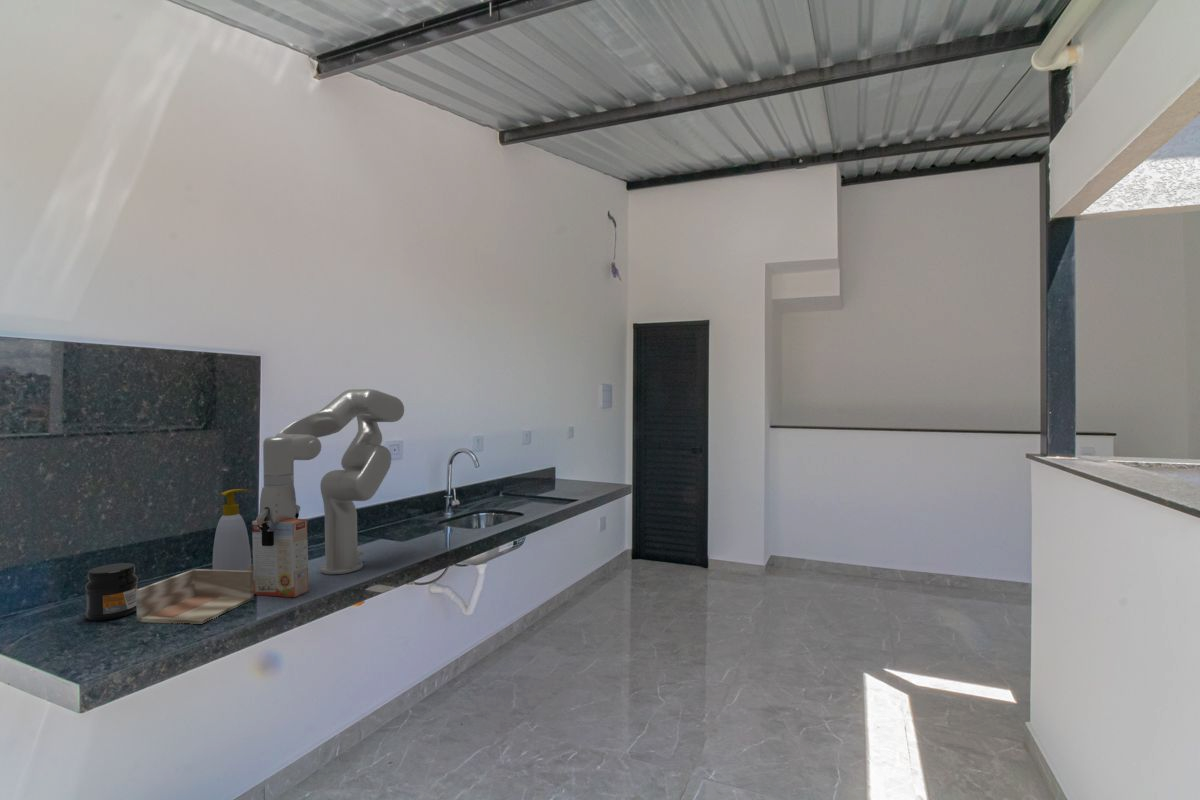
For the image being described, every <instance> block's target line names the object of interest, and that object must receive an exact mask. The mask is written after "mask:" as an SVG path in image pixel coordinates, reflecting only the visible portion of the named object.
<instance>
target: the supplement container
mask: <svg viewBox="0 0 1200 800" xmlns="http://www.w3.org/2000/svg"><path fill="white" fill-rule="evenodd" d="M135 573H136V566H135V564H133V563H127V562H123V563H122V562H121V563H113V564H107V565H102V566H97V567H94V568H92V569H89V571H88V572H87V580H88V582H87V583H86V584H85V594H86V595H85V597H86V599H85V600H86V613H85V614H86V615H85V616H86V617H87V619H88V620H90V621H96V622H104V621H110V620H111V621H112V620H115V619H120V618H124V617H126V616H129V615H132V614H133V613H134V612H137V604H136V590H137V589H138V581H139V577H138V576H137V575H136V574H135Z"/></svg>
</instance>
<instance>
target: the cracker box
mask: <svg viewBox="0 0 1200 800" xmlns="http://www.w3.org/2000/svg"><path fill="white" fill-rule="evenodd" d="M267 525H268V526H269V525H270V524H267ZM251 528H252V529H251V534H252V536H251V537H252V568H253V570H252V571H253V595H255V594H256V595H257V596H267V597H268V596H269V597H270V596H271V597H280V596H281V597H282V598H283V597H284V598H291V597H294V598H296V597H298V596H301V594H302V595H303V594H306V593H309V553H308V551H309V547H308V544H309V543H308V519H307V518H298V519H287V520H284V521H281V522H278V523H275V525H274V527H273V529H272V531H274V545H273V546H262V532H261V531H260V528H259V527H258V523H257V521H256V519H255V520H252V522H251Z"/></svg>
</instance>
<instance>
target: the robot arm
mask: <svg viewBox="0 0 1200 800" xmlns="http://www.w3.org/2000/svg"><path fill="white" fill-rule="evenodd" d="M404 414H405V406H404V403H403V402H402V400H401V399H400V398H398V397H397V396H394V395H391V394H389V393H385V392H382V391H379V390H376V389H371V388H368V389H367V388H365V389H364V388H362V389H357V388H356V389H353V388H352V389H348V390H344V391H343V392H341V393H340V394H339V395H338V396H337V397H336V398H334V399H333V400H332V401H330V402H329V403H328V404H327V405H325V406H324V407H323V408H322V409H320V410H319V411H317V412H315V413H312V414H309V415H307V416H305V417H302V418H301V419H298V420H296V421H294V422H292V423H290V424H288V425H287V426H285V427H284V428H283V429H281V430H280V431H279V432H278V433H277V434H276V435H275V436H269V437H266V438H265V439H264V440H263V445H262V447H263V449H262V450H263V451H262V453H263V461H262V462H263V463H262V464H263V487H262V488H261V493H260V498H259V510H258V511H259V512H258V513H259V514H258V515H257V517H255V520H256V521H257V523H258V527H259V528H260V531H261V532H262V546H273V545H274V531H272V529H273V527H274V525H275V523H278V522H281V521H284V520H287V519H299V516H300V512H301V511H300V510H301V506H300V505H298V504H297V501H296V500H297V499H296V497H297V496H296V491H295V479H294V478H295V477H294V473H295V472H294V470H295V469H294V466H295V465H294V461H310V460H314V459H315V458H316V457H318V456H319V455H320V453H321V451H322V442H321V441H320V439H319V438H322V437H327V436H330V435H333V434H336V433H338V432H340V431H342V430H343V429H344V427H346V426H347V425H348V424H349V423H350V422H351V421H353V420H354V419H355V418H356V421H357V428H358V429H357V433H356V434H355V437H354V438H353V439H352V441H351V442H350V444H349V446H348V447H347V449H346V450H345V451H344V454H343V455H342V458H341V463H340V464H341V467H342V469H335V470H330V471H328V472H327V473H325V474H324V475H323V476H322V478H321V480H320V485H319V487H320V493H321V494H320V495H321V498H322V501H323V502H322V503H323V509H324V510H323V511H324V512H323V513H324V545H325V546H324V548H325V550H324V552H325V553H324V554H325V555H324V556H325V558H324V559H325V564H323V565H321V566H320V571H319V572H320V573H322V574H325V575H343V574H349V573H353V572H357V571H360V570H362V568H363V567H364V562H362V560H359V557H362V556H363V555H364V551H363V550H362V549H358V512H357V509H356V505H355V504H354V502H366V501H369V500H370V499H372V498H373V497H374V496H375V494H376V493H377V491H378V490H379V488H380V486H381V484H382V483H383V481H384V479H385V477H386V476H387V474H388V472H389V470H390V468H391V464H392V453H391V451H390V450H389V449H388V447H386V446H384V445H382V442H383V435H382V432H381V430H380V427H379V424H378V423H395V422H398V421H400V420H401V419H402V418H403V416H404ZM267 524H270V525H269V526H268V525H267Z"/></svg>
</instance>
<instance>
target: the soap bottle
mask: <svg viewBox="0 0 1200 800" xmlns="http://www.w3.org/2000/svg"><path fill="white" fill-rule="evenodd" d="M238 492H246V493H249V494H252V492H253V491H251V490H249V489H243V488H237V489H236V488H235V489H228V490H225V491H223V492H220V495H221V496H223V497H226V504H223V505H222V516H220V518H219V521H218V523H217V526H216V530H215V533H214V534H215V535H214V542H213V548H212V570H243V571H253V566H252V557H251V556H252V555H251V554H252V553H251V544H250V538H249V533H248V529H247V525H246V522H245V521H244V517H243V516H242V515H241V514H240V508H239V506H240V504H239V503H235V493H238Z"/></svg>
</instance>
